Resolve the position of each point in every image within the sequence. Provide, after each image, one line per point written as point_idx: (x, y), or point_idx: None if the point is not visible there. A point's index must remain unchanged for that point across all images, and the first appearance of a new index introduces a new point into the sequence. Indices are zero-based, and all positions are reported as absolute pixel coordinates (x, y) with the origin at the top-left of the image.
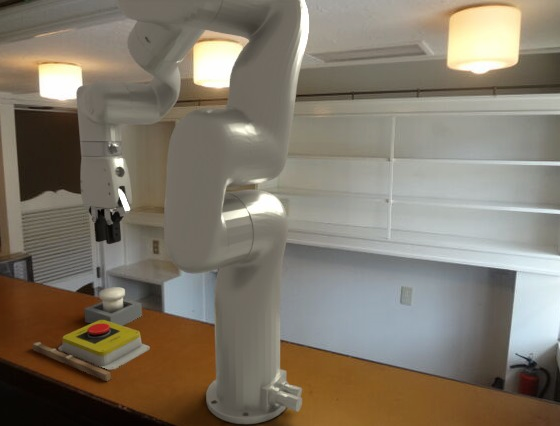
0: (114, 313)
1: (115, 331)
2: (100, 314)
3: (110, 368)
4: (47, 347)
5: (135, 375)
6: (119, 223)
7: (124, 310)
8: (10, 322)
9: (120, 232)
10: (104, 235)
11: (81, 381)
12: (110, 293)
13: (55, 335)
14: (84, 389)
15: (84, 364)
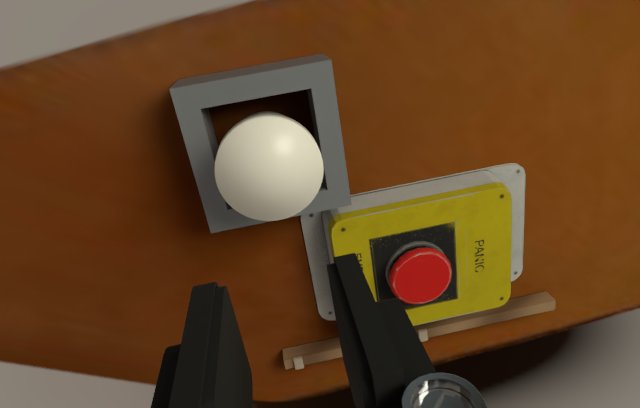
0: (337, 182)
1: (442, 233)
2: (299, 214)
3: (514, 276)
4: (332, 351)
5: (579, 251)
6: (400, 362)
7: (341, 145)
8: (46, 356)
9: (370, 290)
10: (236, 355)
11: (498, 330)
12: (285, 187)
13: (241, 299)
14: (527, 335)
15: (479, 323)
